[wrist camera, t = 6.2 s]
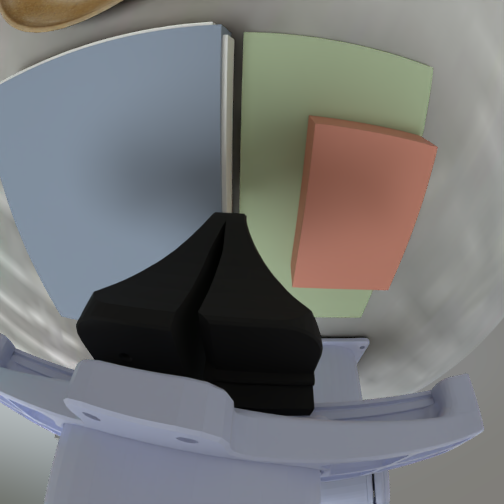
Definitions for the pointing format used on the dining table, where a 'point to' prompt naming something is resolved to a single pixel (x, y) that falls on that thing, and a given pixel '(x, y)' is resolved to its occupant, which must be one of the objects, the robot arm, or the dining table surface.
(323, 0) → the dining table surface
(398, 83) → the felt mat
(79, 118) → the book deck
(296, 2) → the dining table surface
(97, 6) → the plant saucer
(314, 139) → the card box
